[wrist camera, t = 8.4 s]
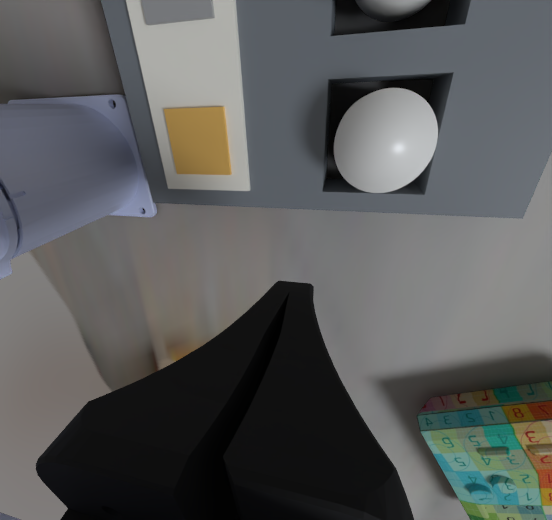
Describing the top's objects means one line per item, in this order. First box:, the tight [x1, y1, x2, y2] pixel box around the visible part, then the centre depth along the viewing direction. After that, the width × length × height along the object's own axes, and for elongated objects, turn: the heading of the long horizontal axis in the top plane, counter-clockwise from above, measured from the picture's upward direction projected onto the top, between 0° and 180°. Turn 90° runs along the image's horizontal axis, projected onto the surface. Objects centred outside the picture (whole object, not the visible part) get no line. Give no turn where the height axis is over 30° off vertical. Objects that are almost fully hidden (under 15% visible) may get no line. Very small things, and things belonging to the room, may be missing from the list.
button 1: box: [334, 88, 438, 193], centre depth 13 cm, size 4×4×4 cm
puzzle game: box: [417, 381, 552, 520], centre depth 23 cm, size 12×5×20 cm
